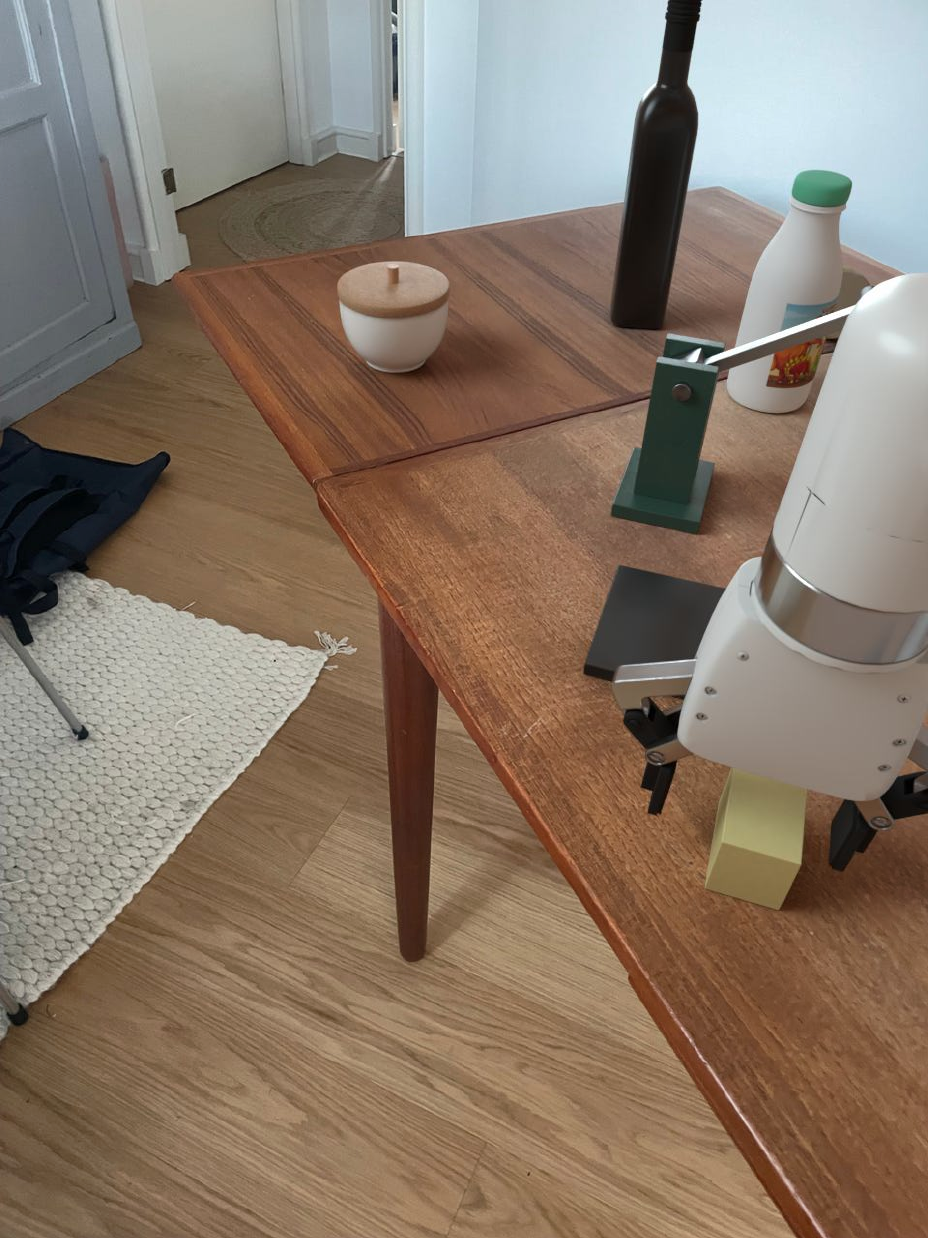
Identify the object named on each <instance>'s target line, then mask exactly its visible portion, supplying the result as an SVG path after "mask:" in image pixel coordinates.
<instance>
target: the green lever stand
mask: <svg viewBox="0 0 928 1238" xmlns="http://www.w3.org/2000/svg"><path fill="white" fill-rule="evenodd" d="M726 344H727V343H726V342H723V341H716V340H710V339H704V338H698V337H692V336H687V335H681V334H675V333H667V335H666V338H665V340H664V347H663V352H662V356H658V357H657V360H656V363H655V369H654V374H653V380H652V385H651V390H650V395H649V396H650V397H649V402H648V407H647V413H646V420H645V425H644V429H643V430H644V431H643V435H642V443H641V447H637V446H634V447H633V448H632V452H631V454H630V457H629V459H628V462H627V464H626V467H625V469H624V472H623V475H622V478H621V480H620V483H619V486H618V488H617V490H616V494H615V497H614V499H613V501H612V504H611V510H610V516H611V517H614V518H619V519H624V520H629V521H634V522H638V523H643V524H648V525H653V526H657V527H662V528H666V529H671V530H675V531H681V532H685V533H689V534H694V535H697V534H698V533H699V529H700V525H701V521H702V518H703V517H702V516H703V514H704V513H703V512H704V510H705V505H706V501H707V497H708V493H709V489H710V485H711V481H712V479H713V478H712V477H713V474H714V470H715V465H716V463H715V461H708V460H703V459H700V458H701V454H702V449H703V445H704V442H705V441H704V440H705V436H706V433H707V429H708V423H709V419H710V415H711V410H712V406H713V401H714V397H715V394H716V388H717V384H718V381H719V375H720V372H719V373H718V370H719V367H717V366H711V365H706V364H700V363H694V362H688V361H682V360H677V359H672V358H675V357H678V356H681V355H683V354H686V353H689V352H691V351H694V350H697V349H700V348H701V349H702V351H703V353H704V356H705V358H709V357H712V356H715V355H717V354H720V353H723V352H725V349H726Z"/></svg>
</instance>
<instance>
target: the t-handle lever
mask: <svg viewBox="0 0 928 1238" xmlns="http://www.w3.org/2000/svg"><path fill="white" fill-rule="evenodd" d="M875 286H876V285H870V286H868V287H865V288H864V289H862V290H861V292H860V293H859V299H858V301H859V300H860V299H861V298H862V297H863V296H864V294H866V293H867V292H868V291H870V290H871V289H873V288H874V287H875ZM854 307H855V306H852V307H849V308H846V309H843V310H841V311H838V312H835V313H832V314H829V315H827V316H824V317H821V318H818V319H815V320H813V321H810V322H807V323H804V324H801V325H799V326H796V327H793V328H790V329H787V330H785V331H782V332H779V333H776V334H773V335H771V336H768V337H765V338H762V339H759V340H757V341H754V342H751V343H748V344H745V345H743V346H740V347H737V348H735V347H734V348H731V349H728V350H726V351H724V352H723V353H720V354H717V355H715V356H712V357H709V358H705V356H704V353H703V351H702V349H701V348H700V349H697V350H694V351H691V352H689V353H686V354H683V355H681V356H678V357H675V358H672V359H677V360H682V361H688V362H694V363H700V364H706V365H711V366H717V367H719V370H718V373H719V374H720V373H722V372H725V371H729V370H730V369H731V368H734V367H737V366H739V365H742V364H745V363H748V362H751V361H754V360H757V359H760V358H763V357H765V356H768V355H771V354H774V353H777V352H780V351H783V350H786V349H789V348H791V347H794V346H797V345H800V344H803V343H806V342H809V341H812V340H815V339H817V338H820V337H823V336H826V335H829V334H832V333H835V332H838V331H841V330H842V329H843V327H844V325H845V322H846V320H847V317H848V316H849V314H850V312H851V311H852V309H853V308H854Z"/></svg>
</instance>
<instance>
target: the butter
mask: <svg viewBox="0 0 928 1238" xmlns="http://www.w3.org/2000/svg"><path fill="white" fill-rule="evenodd" d="M808 793H809V791H808V789H804V788H801V787H797V786H794V785H790V784H787V783H783V782H780V781H776V780H773V779H769V778H766V777H762V776H759V775H756V774H752V773H749V772H745V771H742V770H738V769H735V768H732V767H730V770H729V772H728V776H727V778H726V781H725V784H724V787H723V790H722V793H721V795H720V798H719V800H718V805H717V809H716V816H715V823H714V828H713V835H712V841H711V846H710V852H709V857H708V858H709V859H708V863H707V870H706V876H705V880H704V881H705V882H704V889H705V890H707V891H708V890H709V891H711V892H715V893H718V894H722V895H725V896H728V897H732V898H736V899H738V900H742V901H745V902H748V903H752V904H754V905H759V906H761V907H766V908H770V909H773V910H776V911H780V910H781V907H782V905H783V904H784V901H785V899H786V897H787V895H788V893H789V891H790V890H791V887H792V885H793V883H794V881H795V879H796V877H797V874H798V872H799V871H800V868H801V867H802V863H803V852H804V851H803V850H804V839H805V829H806V827H805V826H806V816H807V815H806V814H807V804H808Z"/></svg>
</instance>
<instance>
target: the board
mask: <svg viewBox="0 0 928 1238" xmlns="http://www.w3.org/2000/svg"><path fill="white" fill-rule="evenodd" d="M725 590H726V588H725V587H721V586H717V585H716V586H715V585H711V584H707V583H703V582H698V581H694V580H689V579H684V578H681V577H675V576H671V575H667V574H662V573H657V572H654V571H649V570H645V569H641V568H635V567H631V566H626V565H624V564H618V565H617V567H616V571H615V573H614V576H613V579H612V583H611V585H610V588H609V591H608V593H607V598H606V599H605V603H604V605H603V608H602V611H601V614H600V617H599V619H598V623H597V626H596V628H595V632H594V634H593V637H592V641H591V642H590V643H591V644H590V647H589V649H588V652H587V655H586V658H585V660H584V663H583V671H582V673H583V675H586V676H590V677H595V678H598V679H603V680H607V681H609V682H612V680H613V677H614V674H615V671H616V668H617V667H619V666H622V665H633V664H645V663H657V662H668V661H680V660H692V659H695V656H696V653H697V651H698V648H699V645H700V643H701V640H702V638H703V635H704V633H705V631H706V628H707V626H708V624H709V621H710V619H711V617H712V615H713V613H714V611H715V609H716V607H717V604H718V602H719V600H720V599H721V597H722V595H723V593H724V592H725ZM685 696H686V695H677V696H672V697H674V698H678V699H680V700H684V699H685Z"/></svg>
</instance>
